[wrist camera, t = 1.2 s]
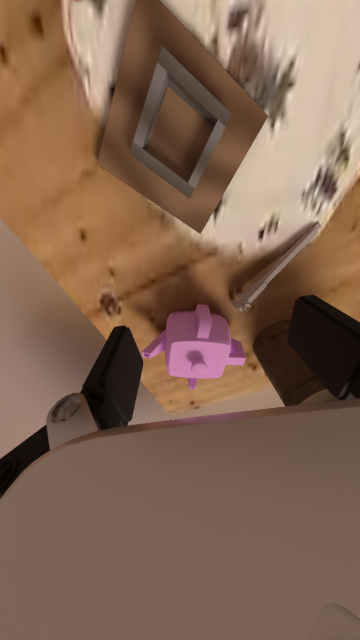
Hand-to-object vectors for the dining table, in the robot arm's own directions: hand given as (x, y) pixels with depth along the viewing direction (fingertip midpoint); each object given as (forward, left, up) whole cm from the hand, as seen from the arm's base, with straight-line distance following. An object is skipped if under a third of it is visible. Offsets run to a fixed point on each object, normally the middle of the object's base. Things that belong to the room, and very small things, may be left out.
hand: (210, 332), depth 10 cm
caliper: (-6, +17, -27) cm, 32 cm away
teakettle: (+17, +12, -27) cm, 34 cm away
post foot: (-11, -8, -27) cm, 30 cm away
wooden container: (+8, +35, -27) cm, 45 cm away
